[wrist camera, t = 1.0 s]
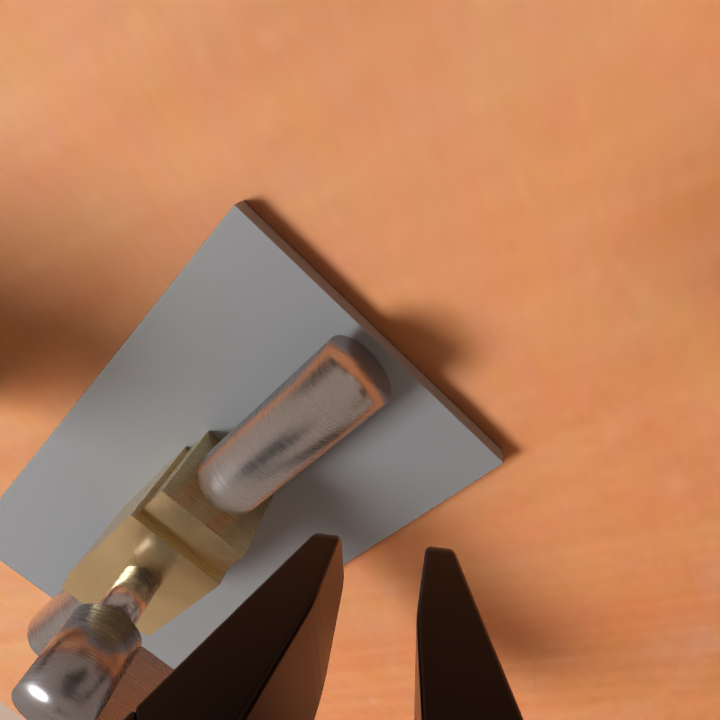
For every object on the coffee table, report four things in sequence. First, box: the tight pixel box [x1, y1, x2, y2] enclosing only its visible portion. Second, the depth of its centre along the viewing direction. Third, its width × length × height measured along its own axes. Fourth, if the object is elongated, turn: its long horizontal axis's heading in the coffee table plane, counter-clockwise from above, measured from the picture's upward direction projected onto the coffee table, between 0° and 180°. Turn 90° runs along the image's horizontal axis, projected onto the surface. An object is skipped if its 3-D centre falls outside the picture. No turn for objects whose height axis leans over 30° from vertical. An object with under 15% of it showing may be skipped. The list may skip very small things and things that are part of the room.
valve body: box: [28, 335, 392, 656], centre depth 23 cm, size 25×4×6 cm, turn 137°
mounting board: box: [0, 201, 503, 669], centre depth 27 cm, size 26×14×1 cm, turn 137°
